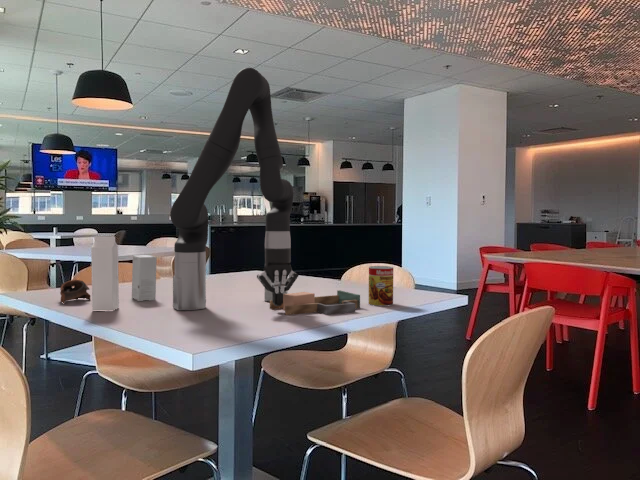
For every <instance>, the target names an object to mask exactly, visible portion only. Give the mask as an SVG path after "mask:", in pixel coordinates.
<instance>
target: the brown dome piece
mask: <svg viewBox="0 0 640 480" xmlns="http://www.w3.org/2000/svg"><path fill="white" fill-rule="evenodd" d="M59 287H60V289H59V290H60V292H59V293H60V303H61V302H63V303H65V304H66V302H68V301H72V300H74V299H77V300H79V299H78V298H83V299H85V298H86V300H88V299H90V300H91V295H90V294H89V292H88V290H89V291H90V287H89V286H88V285H87V284H86V282H84V281H83V280H80V279H72V280H68V281H65V282H63V283H61V285H60V286H59ZM63 303H62V304H63Z"/></svg>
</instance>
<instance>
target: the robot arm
mask: <svg viewBox="0 0 640 480" xmlns="http://www.w3.org/2000/svg"><path fill="white" fill-rule="evenodd" d="M271 95H272V94H271V87H270V83H269V81H268V80H267V79H266V77H265V76H264V75H262V73H260V72H259V71H258V70H257V69H255V68H253V67H245V68H242V69H241V70H239V71H238V72H237V73H236V75H235V76H234V78H233V80H232V83H231V85H230V88H229V91H228V93H227V96H226V98H225V102H224V104H223V107H222V109H221V111H220V113H219V115H218V117H217V119H216V121H215V124H214V125H213V127H212V129H211V131H210V133H209V136H208V137H207V139H206V141H205V143H204V145H203V147H202V150H201V151H200V154H199V157H198V158H197V160H196V163H195V164H194V166H193V168H192V170H191V173H190V175H189V177H188V179H187V181H186V183H185V184H184V186H183V188H182V190H181V191H180V193H179V195H178V196H177V198H176V199H175V200H174V202H173V204H172V206H171V209H170V212H169V215H170V221H171V223H172V225H173V226H174V227H176V228H177V229H178V231H179V232H178V237H177V240H176V241H175V242H174V250H173V251H174V276H172V307H173V309H175V310H177V311H196V310H203V309H206V308H207V280H206V279H207V277H206V276H207V273H206V272H207V271H206V270H207V269H206V267H207V263H206V260H207V257H206V255H207V253H206V248H207V243H208V239H209V212H208V211H209V210H208V208H207V205H205V202H206V199H207V198H208V195H209V194H210V192H211V190H212V189H213V187H214V186H215V185H216V184H217V183H218V182H219V181H220V179H222V177H223V176H224V175H225V174H226V172H227V171H228V170H229V168H230V166H231V164H232V162H233V160H234V159H235V156H236V154H237V153H238V150H239V147H240V144H241V143H240V142H241V136H242V130H243V124H244V121H245V118H246V116H247V114H248V112H250V116H251V118H252V119H251V120H252V122H253V139H254V140H253V142H254V149H255V154H256V158H257V162H258V165H259V187H260V192H261V194H262V196H263V198H264V199H265V200H267V201H268V202H270V203H271V206H270V207H271V209H270V211H268V212H267V213H266V215H265V235H264V236H265V237H264V268H263V271H262V272H261V273H260V274H257V275H256V279H257V280H258V281H259V282H260V284H261V285H262V286H263V287H264V290H265V289H266V290H267V291H270V292H272V302H273V304H274V305H275V306H281V305H282V304H283V293H284V292H285V291H287V292H288V291H289V290H290V289H291V288H292V286H293V285H294V283H295V282H296V280H297V279H298V278H299V273H296V272H295V271H293V267H292V265H291V262H292V260H291V259H292V257H291V256H292V254H291V252H292V251H291V248H292V247H291V245H292V244H291V242H292V241H291V229H290V227H291V221H290V216H291V212H292V209H293V201H294V197H295V196H294V195H295V194H294V188H293V187H294V186H293V185H292V183H291V182H290V181H289V180H287V179H284V178H282V176H281V169H282V168H283V166H284V160H283V157H282V153H281V148H280V145H279V140H278V137H277V132H276V128H275V124H274V123H275V122H274V118H273V117H274V116H273V109H272V98H271V97H272V96H271ZM266 275H267V277H268V278H269V279H270V282H271V285H270V284H269V283H268V281H267V280H266V279H267V277H266ZM287 277H288V280H287V281H286V279H287ZM285 281H286V283H285Z"/></svg>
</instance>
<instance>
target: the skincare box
mask: <svg viewBox="0 0 640 480" xmlns="http://www.w3.org/2000/svg"><path fill="white" fill-rule="evenodd" d="M157 259H158V257H157V256H153V255H149V254H133V255H132V270H131V272H132V273H131V274H132V275H131V299H133V298H134V299H133V300H136V299H137V300H136V301H137V302H144V301H143V300H149V301H156V297H157V294H156V293H157V289H156V288H157Z"/></svg>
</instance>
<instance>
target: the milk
mask: <svg viewBox="0 0 640 480" xmlns="http://www.w3.org/2000/svg"><path fill="white" fill-rule="evenodd" d="M90 251H91V252H90V253H91V255H90V256H91V258H90V259H91V260H90V261H91V311H92V310H114V309H116V308H118V307H119V308H120V305H119V304H120V302H119V301H120V299H119V298H120V297H119V293H120V290H119V289H120V288H119V245H118V244H117V242H116V236H115V235H112V236H111V235H102V236H101V235H100V236H99V235H96V236H94V241H93V243H92V245H91V249H90ZM119 308H118V309H119ZM116 310H117V309H116ZM114 311H115V310H114Z"/></svg>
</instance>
